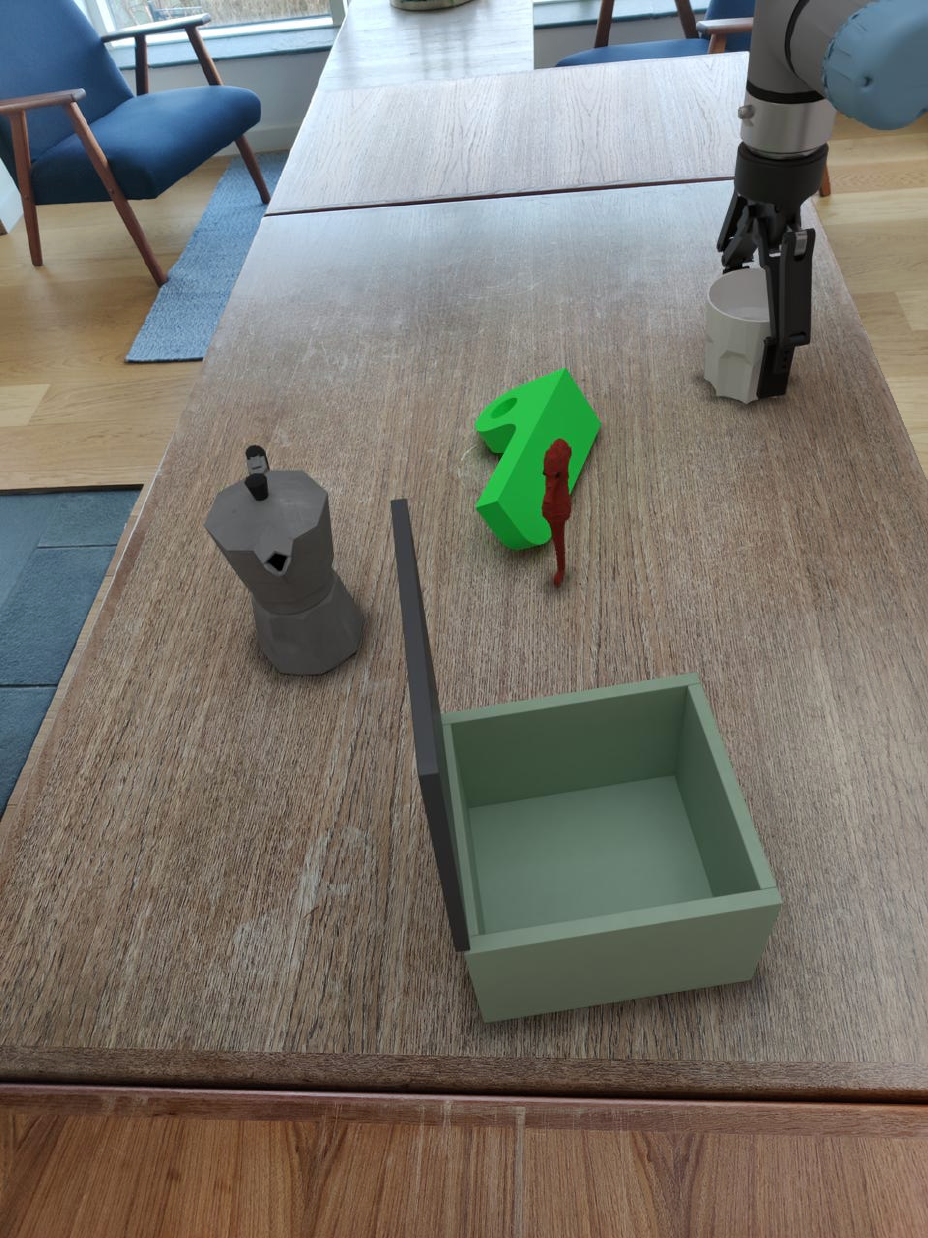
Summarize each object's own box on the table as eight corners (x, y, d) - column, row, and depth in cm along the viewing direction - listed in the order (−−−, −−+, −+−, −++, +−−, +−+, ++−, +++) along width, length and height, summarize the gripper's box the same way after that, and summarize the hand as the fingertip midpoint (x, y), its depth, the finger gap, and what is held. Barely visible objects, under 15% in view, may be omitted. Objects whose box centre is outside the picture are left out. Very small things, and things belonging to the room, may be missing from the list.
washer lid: (406, 497, 42) (390, 499, 42) (439, 772, 32) (417, 776, 32) (440, 709, 56) (427, 710, 56) (470, 950, 46) (455, 953, 46)
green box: (681, 769, 65) (697, 671, 56) (751, 980, 55) (783, 903, 46) (455, 805, 65) (434, 714, 56) (484, 1023, 55) (464, 955, 46)
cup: (809, 366, 94) (828, 279, 87) (774, 418, 89) (791, 331, 82) (719, 344, 99) (730, 259, 91) (681, 393, 94) (690, 308, 86)
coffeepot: (381, 678, 73) (334, 519, 60) (270, 710, 72) (196, 556, 59) (346, 554, 83) (299, 394, 70) (248, 581, 82) (181, 424, 69)
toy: (536, 600, 77) (528, 466, 66) (555, 557, 80) (550, 422, 69) (563, 606, 76) (559, 471, 65) (580, 562, 79) (579, 427, 68)
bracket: (525, 450, 96) (489, 397, 93) (602, 424, 90) (566, 366, 86) (458, 579, 85) (413, 524, 81) (540, 560, 78) (495, 499, 75)
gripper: (698, 96, 84) (680, 303, 100) (792, 211, 68) (752, 436, 84) (776, 83, 84) (745, 293, 100) (889, 196, 68) (830, 423, 84)
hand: (748, 358), depth 92 cm, fingers open, 12 cm apart
